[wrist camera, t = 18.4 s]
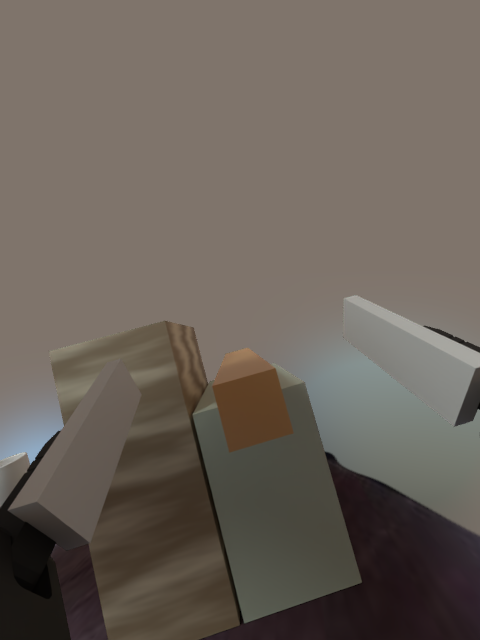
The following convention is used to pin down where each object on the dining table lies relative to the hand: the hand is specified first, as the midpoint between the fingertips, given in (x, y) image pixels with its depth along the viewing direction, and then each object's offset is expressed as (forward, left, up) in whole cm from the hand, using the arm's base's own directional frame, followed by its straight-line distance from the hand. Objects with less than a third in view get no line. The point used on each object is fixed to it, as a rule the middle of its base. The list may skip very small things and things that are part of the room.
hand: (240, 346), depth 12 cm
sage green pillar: (-12, +13, -26) cm, 31 cm away
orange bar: (-8, +9, -6) cm, 14 cm away
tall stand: (-21, +5, -26) cm, 34 cm away
